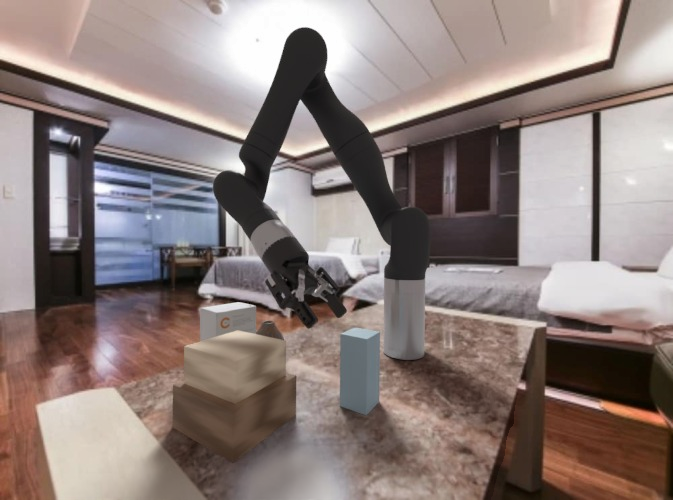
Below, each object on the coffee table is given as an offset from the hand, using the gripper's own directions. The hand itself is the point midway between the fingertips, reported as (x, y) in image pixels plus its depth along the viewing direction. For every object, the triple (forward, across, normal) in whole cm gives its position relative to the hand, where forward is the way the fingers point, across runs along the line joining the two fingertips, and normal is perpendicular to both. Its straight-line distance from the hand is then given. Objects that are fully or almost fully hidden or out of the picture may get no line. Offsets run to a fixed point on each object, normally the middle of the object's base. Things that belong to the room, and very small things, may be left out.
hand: (329, 319), depth 48 cm
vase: (-3, +3, +21) cm, 21 cm away
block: (+13, 0, +4) cm, 13 cm away
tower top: (0, -13, +9) cm, 16 cm away
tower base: (+4, -13, +13) cm, 19 cm away
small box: (-5, -5, +22) cm, 23 cm away
